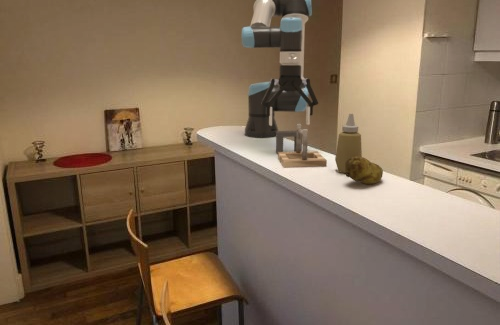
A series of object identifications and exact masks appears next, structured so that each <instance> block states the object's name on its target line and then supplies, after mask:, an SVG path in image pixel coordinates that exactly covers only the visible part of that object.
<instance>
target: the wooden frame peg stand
mask: <svg viewBox="0 0 500 325" xmlns="http://www.w3.org/2000/svg"><path fill="white" fill-rule="evenodd" d="M296 131H297V138H296V152H294V151H283V152H278V154H277V158H278V160H279V162H280V163H281V165H282V167H283V169H284V168H309V167H311V168H313V167H314V168H315V167H327V164H328V163H327V161H328V160H327V159H326V158H325V157H324V156H323V155H322V154H321V153H320V152H318V151H317V150H316V151H313V150H311V151H309V150H308V143H309V142H308V141H309V140H308V138H309V136H308V135H309V130H308V129H307V128H303V129H302V124H301V123H297V124H296ZM301 136H302V152H301Z"/></svg>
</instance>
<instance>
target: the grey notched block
mask: <svg viewBox="0 0 500 325" xmlns="http://www.w3.org/2000/svg"><path fill="white" fill-rule="evenodd" d="M288 137H289V138H290V137H291V138H293V143H294V144H293V152H296V138H297V130H278V131H276V136H275V153H276V155H278V152H284V138H288ZM302 145H303V137H302V136H301V152H302Z"/></svg>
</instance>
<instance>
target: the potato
mask: <svg viewBox="0 0 500 325" xmlns="http://www.w3.org/2000/svg"><path fill="white" fill-rule="evenodd" d="M383 170H384V169H383V168H382V167H381V166H380V165H379V164H377V163H374V162H371V161H370V160H368V159H367V158H365V157H363V156H362V157H352V158H350V159H348V160H347V161H346V163H345V171H346V173H345V176H346V177H347V178H350V179H351V180H352V181H356V182H360V183H362V184H364V185H375V184H377V183H378V182H380V181H381V180H382V178H383V173H384V171H383Z"/></svg>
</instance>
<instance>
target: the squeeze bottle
mask: <svg viewBox="0 0 500 325" xmlns="http://www.w3.org/2000/svg"><path fill="white" fill-rule="evenodd" d="M335 151H336V152H335V157H334V158H335V159H334V161H335V164H336V169H337V171H338V172H339V173H343V174H346V171H345V163H346V161H347V160H348V159H350V158H352V157H363V153H362V152H363V151H362V134H361V133H359V125H357V124H356V123H355V117H354V114H353V113H349V114H348V116H347V120H346V124H344V125H342V131H341V132H340V133H339V134H338V138H337V145H336V150H335Z"/></svg>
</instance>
